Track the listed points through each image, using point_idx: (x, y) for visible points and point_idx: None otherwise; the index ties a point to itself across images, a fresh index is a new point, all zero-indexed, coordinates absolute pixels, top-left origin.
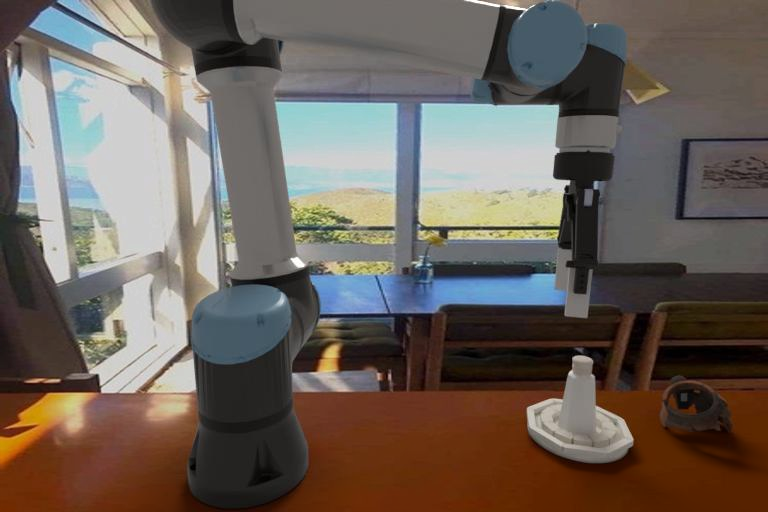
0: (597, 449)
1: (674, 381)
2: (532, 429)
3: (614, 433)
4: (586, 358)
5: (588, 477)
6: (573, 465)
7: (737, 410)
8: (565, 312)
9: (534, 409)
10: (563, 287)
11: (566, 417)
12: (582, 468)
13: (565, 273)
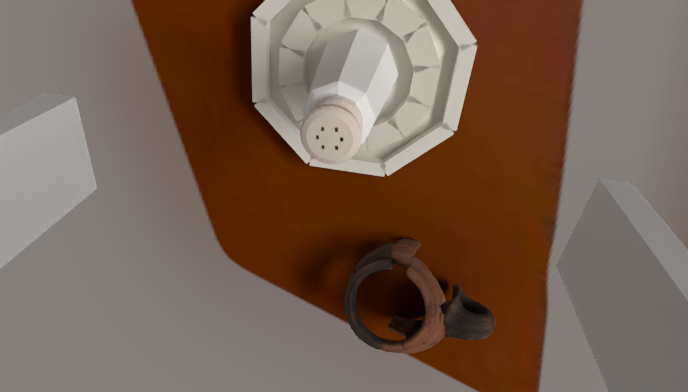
0: (260, 87)
1: (468, 318)
2: None
3: None
4: (330, 148)
5: (216, 49)
6: (245, 30)
7: (467, 360)
8: (32, 99)
9: None
10: (582, 233)
11: (329, 49)
12: (240, 46)
13: (621, 306)
